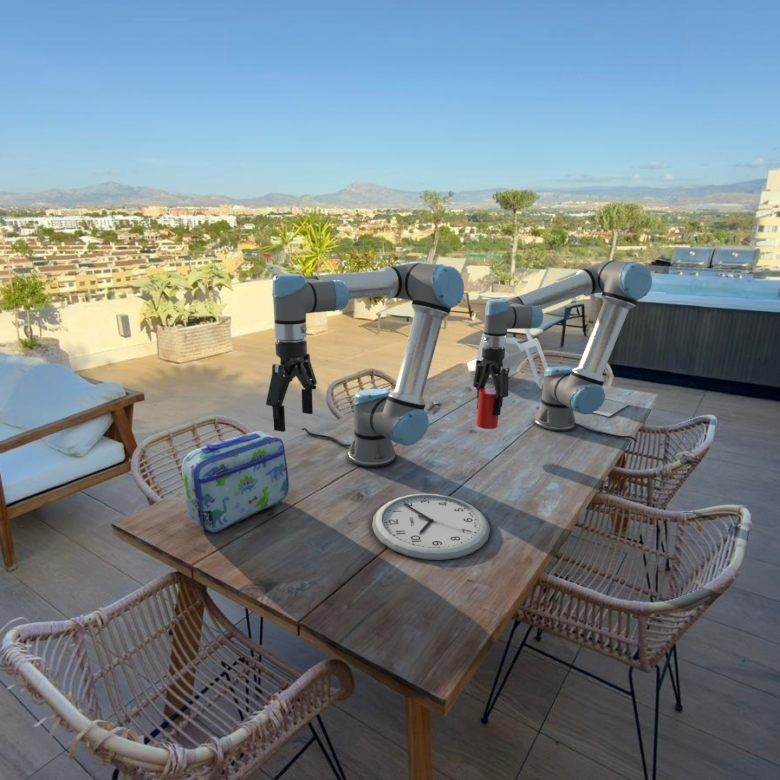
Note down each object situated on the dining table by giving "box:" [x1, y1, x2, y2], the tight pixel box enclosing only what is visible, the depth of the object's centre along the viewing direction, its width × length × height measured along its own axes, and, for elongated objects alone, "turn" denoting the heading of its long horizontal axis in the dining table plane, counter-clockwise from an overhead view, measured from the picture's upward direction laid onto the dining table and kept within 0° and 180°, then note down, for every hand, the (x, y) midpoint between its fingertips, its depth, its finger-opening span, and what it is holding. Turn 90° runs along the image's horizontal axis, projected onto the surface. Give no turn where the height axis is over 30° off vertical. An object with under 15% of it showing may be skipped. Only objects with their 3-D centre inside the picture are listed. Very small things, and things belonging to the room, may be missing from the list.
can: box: [476, 387, 500, 430], centre depth 180 cm, size 7×7×13 cm
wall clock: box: [371, 493, 491, 561], centre depth 134 cm, size 30×2×30 cm
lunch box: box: [181, 430, 290, 533], centre depth 135 cm, size 26×11×21 cm, turn 134°
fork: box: [427, 396, 442, 412], centre depth 222 cm, size 3×16×2 cm, turn 160°
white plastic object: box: [466, 329, 549, 390], centre depth 259 cm, size 37×45×31 cm
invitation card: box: [591, 398, 629, 418], centre depth 226 cm, size 21×1×15 cm
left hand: (294, 421), depth 133 cm, fingers open, 13 cm apart
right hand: (488, 411), depth 180 cm, fingers closed on can, 7 cm apart
